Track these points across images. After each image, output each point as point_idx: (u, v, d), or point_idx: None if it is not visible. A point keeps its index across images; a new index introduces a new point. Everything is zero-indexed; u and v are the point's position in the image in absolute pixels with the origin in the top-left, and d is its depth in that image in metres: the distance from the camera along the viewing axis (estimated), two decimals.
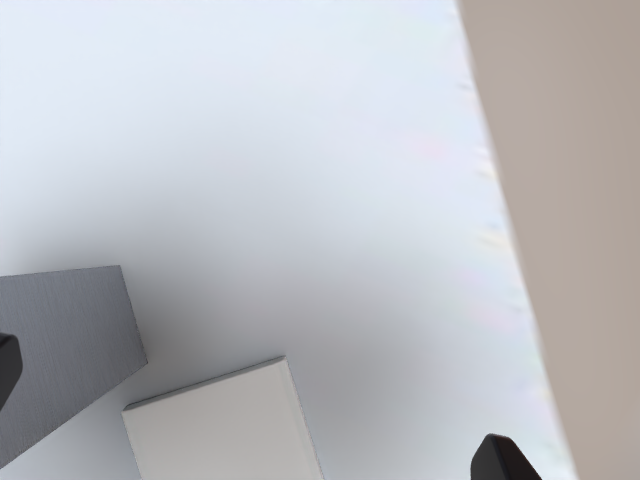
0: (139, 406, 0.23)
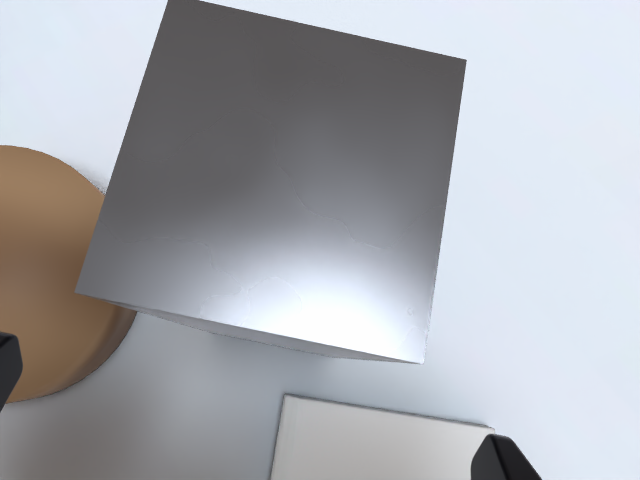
0: (310, 399, 0.18)
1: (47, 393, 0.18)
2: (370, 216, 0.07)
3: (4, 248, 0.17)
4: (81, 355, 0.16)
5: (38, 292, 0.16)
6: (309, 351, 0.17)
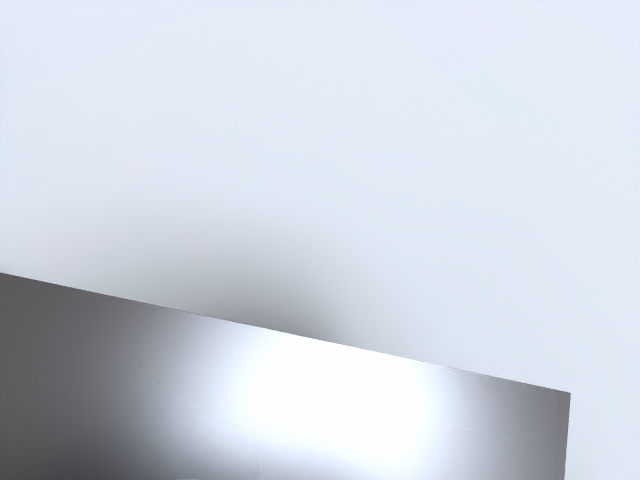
0: None
1: None
2: None
3: None
4: None
5: None
6: None
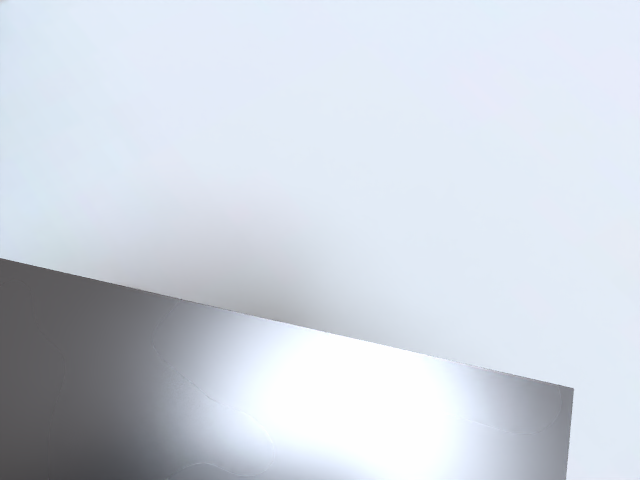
0: None
1: None
2: None
3: None
4: None
5: None
6: None
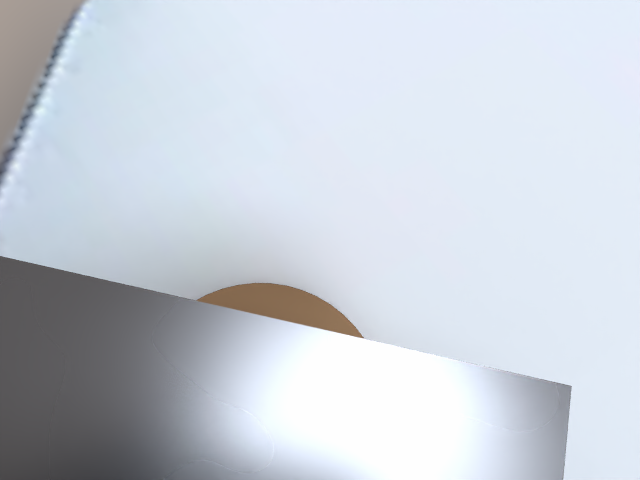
0: None
1: None
2: None
3: None
4: None
5: None
6: None
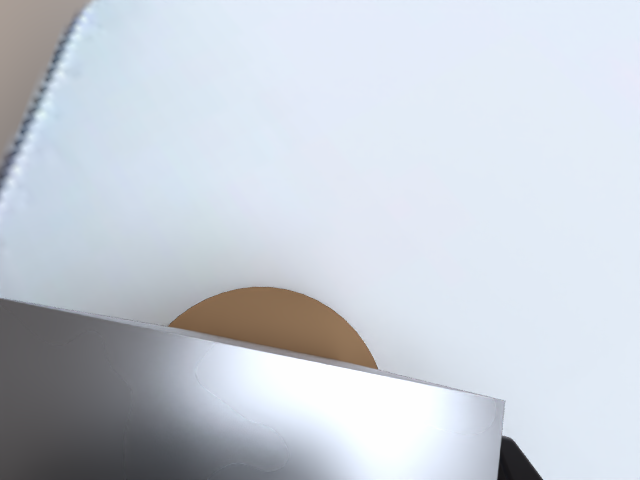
0: None
1: None
2: None
3: None
4: None
5: None
6: None
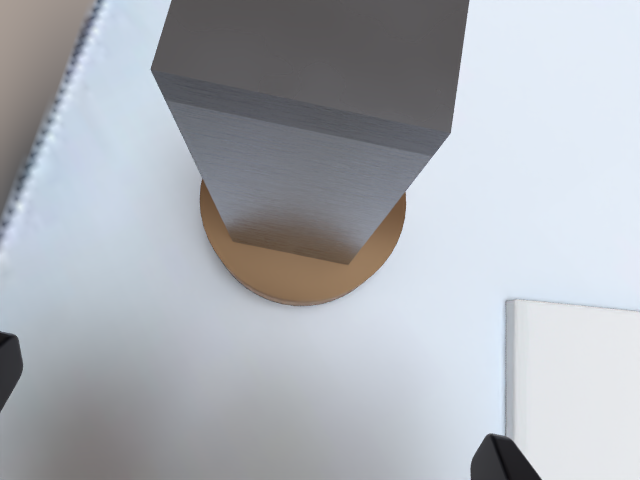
0: (534, 301, 0.23)
1: (336, 298, 0.23)
2: (402, 16, 0.08)
3: None
4: (383, 262, 0.21)
5: None
6: (329, 244, 0.18)
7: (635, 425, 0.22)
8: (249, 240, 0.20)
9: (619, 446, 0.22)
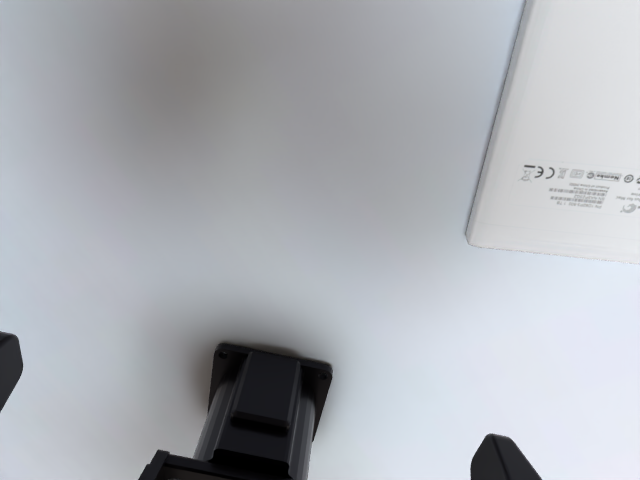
0: None
1: None
2: None
3: None
4: None
5: None
6: None
7: None
8: None
9: None
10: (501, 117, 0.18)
